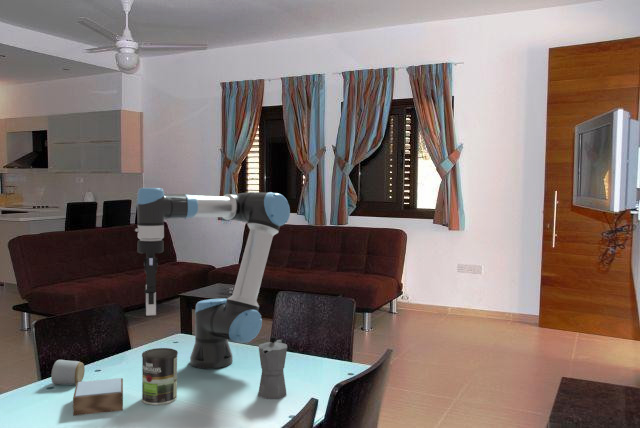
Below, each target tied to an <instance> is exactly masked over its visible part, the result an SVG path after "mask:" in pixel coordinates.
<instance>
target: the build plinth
mask: <svg viewBox="0 0 640 428" xmlns="http://www.w3.org/2000/svg"><path fill="white" fill-rule="evenodd" d="M119 411H124V379H123V378H122V377H119V378H118V377H117V378H110V379H109V378H105V379H96V380H85V381H83V380H82V381H81V382H77V383H76V384H75V389H74V393H73V397H72V416H81V415H91V414H101V413H103V414H104V413H111V412H119Z"/></svg>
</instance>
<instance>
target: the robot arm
mask: <svg viewBox="0 0 640 428" xmlns="http://www.w3.org/2000/svg"><path fill="white" fill-rule="evenodd" d="M136 197H137V198H136V199H137V200H136V209H137V210H136V211H137V216H136V217H137V221H136V222H137V228H135V229H134V232H137V238H138V239H139V240H137V244H136V245H137V250H136V251H137V253H138V254H144V255H145V258H143V266H144V273H145V274H146V275H145V276H146V277H145V289H143V294H145V315H146V316H157V288H156V287H157V284H158V282H157V281H158V280H156V273H158V258H157V257H156V256H155V255H156V254H161V253H163V252H164V250H165V247H164V243H165V241H164V240H163V239H164V238H165V225H164V224H165V223H164V221H165V220H168V219H169V220H170V219H171V220H172V219H185V220H186V219H189V218H190V219H191V218H222V219H224V220H227V221H237V222H242V223H246V224H247V227H248V229H249V233H248V236H247V239H246V244H245V248H244V252H243V255H242V258H241V259H242V260H241V263H240V267H239V270H238V273H237V278H236V281H235V285H234V289H233V292H232V295H230V296H229V297H227V298H224V297H223V298H210V299H204V300H203V299H202V300H200V301H197V303H196V304H195V311H194V317H195V319H194V323H195V324H194V326H195V327H194V328H195V330H194V331H195V332H194V334H195V337H194V338H195V340H194V345H193V348H192V351H191V353H190V354H191V355H190V361H189V363H190V365H191V366H192V367H194V368H198V369H207V370H208V369H220V368H224V367H227V366H230V365H231V364H232V363H233V353H232V350H231V346H230V343H229V341H232V342H233V343H242V344H244V343H245V344H247V343H249V342H252V341H253V340H254V339H255V338H257V336H258V335H259V334H260V332H261V329H262V325H263V319H262V315H261V313H260V312H259V309H260V305H259V303H258V301H257V300H258V297H259V296H258V295H259V292H260V288H261V285H262V281H263V280H262V279H263V277H264V274H265V273H264V272H265V268H266V265H267V261H268V259H269V258H268V257H269V253H270V249H271V245H272V243H273V242H272V241H273V238H274V236H275V235H277V234H279V231H280V227H281V226H284V225H285V224H286V223H288V221H289V219H290V215H291V209H290V204H289V202H288V200H287V198H286V197H285V196H284V195H283V194H281V193H278V192H272V191H269V192H253V191H250V192H241V193H226V194H224V195H223V196H222V195H221V196H220V195H217V196H215V195H195V194H186V193H183V194H182V193H180V194H178V193H175V194H173V193H172V194H171V193H165V191H164V189H163V188H162V187H140V188H139V189H138V190H137V195H136Z"/></svg>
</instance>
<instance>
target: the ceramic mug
mask: <svg viewBox="0 0 640 428" xmlns="http://www.w3.org/2000/svg"><path fill="white" fill-rule="evenodd" d="M50 374H51V375H50V377H51V378H50V379H51V382H52V384H53V385H61V386H62V385H68V386H69V385H70V386H73V385H74V386H76V383H77V382H83V379H84V376H85V364H84V363H83V362H81V361H78V360H65V359H58V360H56V361H54V364H53V365H52V369H51V373H50Z"/></svg>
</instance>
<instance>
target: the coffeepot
mask: <svg viewBox="0 0 640 428" xmlns="http://www.w3.org/2000/svg"><path fill="white" fill-rule="evenodd" d="M287 351H288V344H286V343H285V340H284V339H283V338H279V339H277V340H276V336H270V341H267V342H263V343H260V344H258V354H259V360H260V368H261V374H260V375H261V376H260V382H259V388H258V396H259V397H261V398H262V399H267V400H268V399H269V400H273V399H274V400H276V399H282V398H284V397H286V396H287V386H286V380H285V373H284V372H285V371H284V369H285V364H286V359H287V357H286V356H287Z"/></svg>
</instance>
